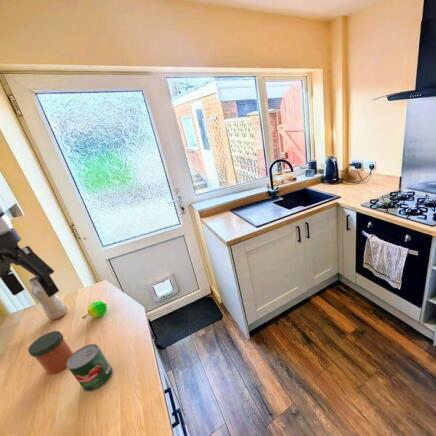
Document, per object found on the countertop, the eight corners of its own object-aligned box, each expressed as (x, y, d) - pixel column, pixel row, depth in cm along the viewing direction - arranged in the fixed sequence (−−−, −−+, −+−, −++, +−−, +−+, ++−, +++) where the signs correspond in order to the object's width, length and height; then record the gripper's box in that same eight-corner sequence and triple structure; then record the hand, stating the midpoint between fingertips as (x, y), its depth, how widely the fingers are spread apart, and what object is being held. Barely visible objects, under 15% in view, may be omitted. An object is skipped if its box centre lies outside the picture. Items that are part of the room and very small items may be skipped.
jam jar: (41, 377, 80) (23, 356, 76) (55, 357, 87) (39, 336, 82) (67, 370, 82) (51, 349, 77) (79, 350, 88) (65, 330, 84)
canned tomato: (86, 397, 73) (68, 374, 68) (80, 381, 78) (63, 358, 73) (116, 376, 78) (101, 352, 73) (109, 362, 83) (95, 339, 78)
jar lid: (24, 360, 76) (20, 356, 75) (41, 338, 83) (38, 334, 82) (54, 352, 77) (51, 348, 77) (68, 331, 85) (66, 328, 84)
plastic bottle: (45, 320, 104) (19, 283, 96) (62, 308, 110) (38, 272, 102) (56, 322, 103) (30, 284, 94) (72, 310, 108) (49, 273, 100)
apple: (101, 295, 104) (76, 309, 97) (110, 307, 103) (85, 322, 96) (102, 301, 109) (78, 315, 102) (110, 312, 108) (86, 327, 101)
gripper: (45, 226, 68) (80, 286, 77) (-22, 227, 73) (18, 283, 82) (14, 240, 62) (56, 303, 71) (-58, 240, 66) (-10, 300, 75)
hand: (36, 293), depth 76 cm, fingers open, 13 cm apart
